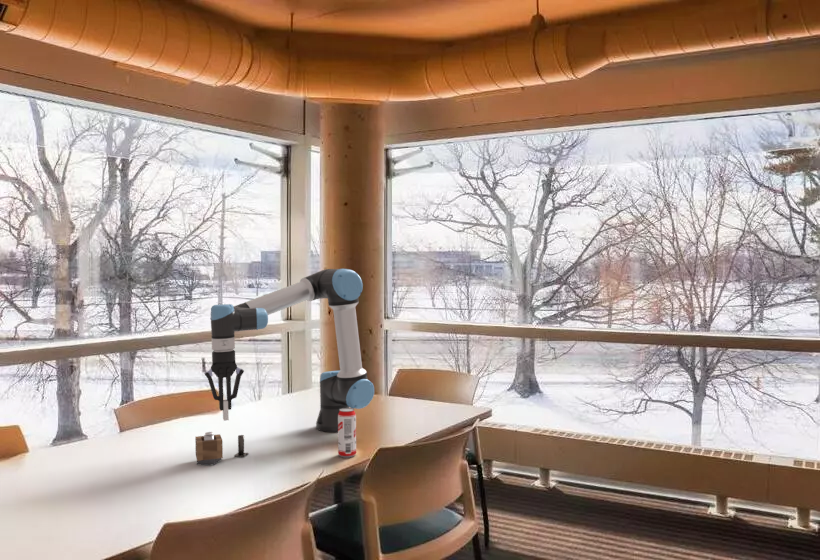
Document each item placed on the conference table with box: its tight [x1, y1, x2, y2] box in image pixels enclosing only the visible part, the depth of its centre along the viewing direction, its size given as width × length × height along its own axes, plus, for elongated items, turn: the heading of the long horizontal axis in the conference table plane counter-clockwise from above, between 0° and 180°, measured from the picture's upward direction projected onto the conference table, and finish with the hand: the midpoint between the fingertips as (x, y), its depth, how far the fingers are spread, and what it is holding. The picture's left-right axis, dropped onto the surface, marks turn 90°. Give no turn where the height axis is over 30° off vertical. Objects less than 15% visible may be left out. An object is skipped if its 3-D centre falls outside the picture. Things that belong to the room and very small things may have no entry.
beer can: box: [337, 407, 357, 459], centre depth 225 cm, size 6×6×16 cm
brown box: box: [195, 433, 224, 462], centre depth 219 cm, size 8×8×6 cm
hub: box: [196, 431, 223, 466], centre depth 219 cm, size 6×6×10 cm
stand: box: [233, 434, 249, 458], centre depth 226 cm, size 4×4×7 cm
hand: (225, 419), depth 221 cm, fingers closed
